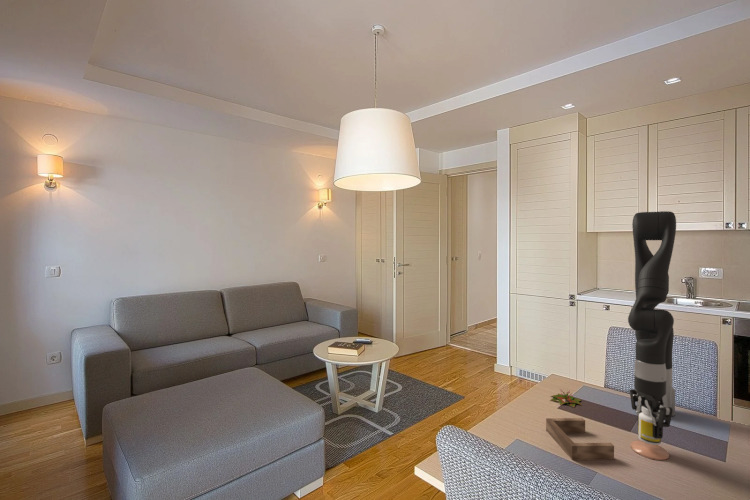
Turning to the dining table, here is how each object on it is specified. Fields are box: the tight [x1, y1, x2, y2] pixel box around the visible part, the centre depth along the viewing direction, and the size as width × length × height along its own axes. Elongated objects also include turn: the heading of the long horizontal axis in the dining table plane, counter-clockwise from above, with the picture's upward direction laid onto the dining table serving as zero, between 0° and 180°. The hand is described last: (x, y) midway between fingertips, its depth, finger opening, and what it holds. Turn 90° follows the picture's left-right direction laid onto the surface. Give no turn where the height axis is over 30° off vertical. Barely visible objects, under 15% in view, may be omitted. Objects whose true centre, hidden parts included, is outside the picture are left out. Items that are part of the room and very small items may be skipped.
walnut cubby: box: [545, 417, 615, 461], centre depth 112 cm, size 12×16×4 cm
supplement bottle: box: [637, 406, 662, 446], centre depth 107 cm, size 5×5×10 cm
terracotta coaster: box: [630, 440, 670, 461], centre depth 107 cm, size 9×9×1 cm
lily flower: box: [550, 388, 583, 408], centre depth 141 cm, size 12×12×5 cm
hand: (649, 432), depth 107 cm, fingers closed on supplement bottle, 5 cm apart
